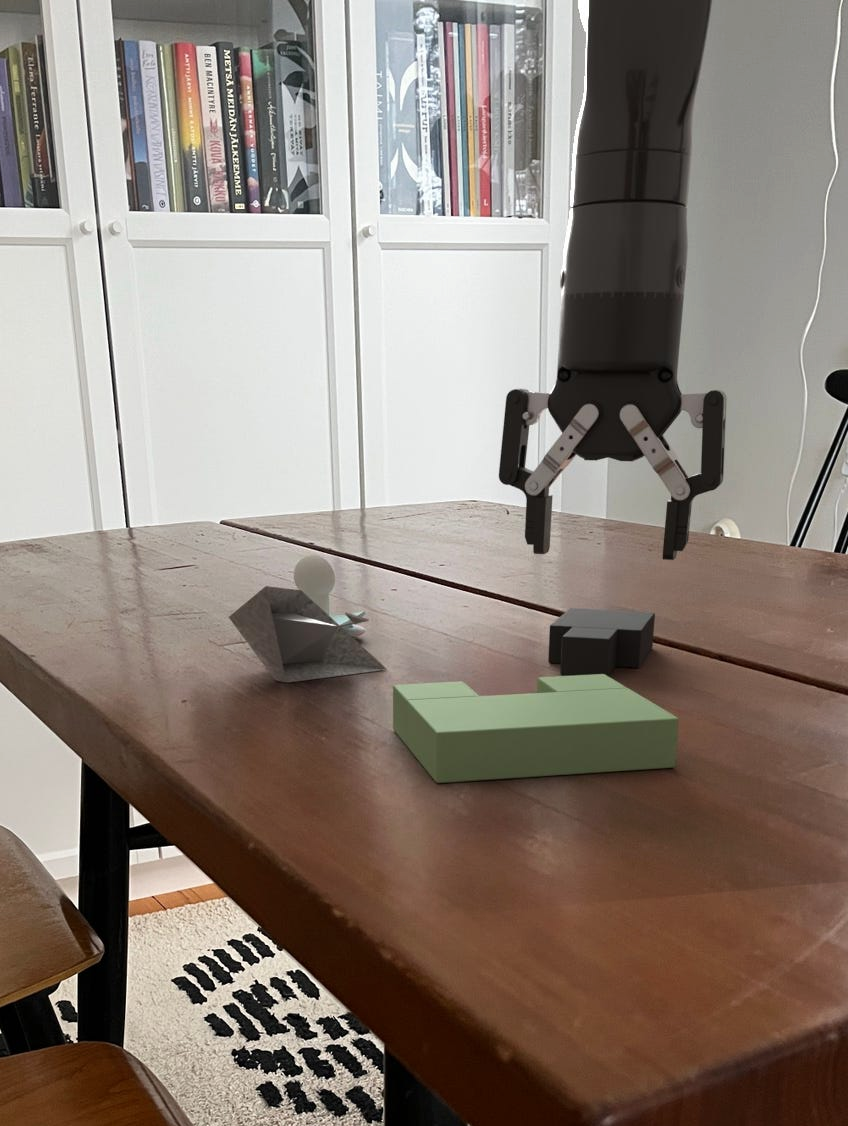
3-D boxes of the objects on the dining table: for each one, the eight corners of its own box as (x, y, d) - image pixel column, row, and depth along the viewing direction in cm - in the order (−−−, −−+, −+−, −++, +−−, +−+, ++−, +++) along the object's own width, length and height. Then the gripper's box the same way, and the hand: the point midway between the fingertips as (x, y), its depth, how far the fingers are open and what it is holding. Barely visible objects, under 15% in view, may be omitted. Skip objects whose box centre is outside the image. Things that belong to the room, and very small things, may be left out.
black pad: (652, 647, 89) (655, 612, 88) (631, 679, 79) (633, 640, 78) (567, 643, 90) (569, 608, 90) (536, 673, 81) (538, 635, 80)
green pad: (602, 717, 71) (604, 673, 70) (675, 768, 61) (679, 718, 61) (392, 729, 69) (392, 684, 68) (436, 783, 59) (436, 732, 59)
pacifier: (285, 631, 96) (259, 644, 91) (283, 547, 94) (256, 555, 89) (378, 635, 94) (357, 648, 89) (378, 549, 92) (356, 557, 87)
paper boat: (322, 636, 87) (430, 612, 82) (309, 722, 86) (419, 704, 80) (199, 558, 78) (311, 525, 73) (183, 653, 77) (296, 627, 71)
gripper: (745, 292, 79) (718, 554, 85) (523, 295, 84) (512, 544, 90) (736, 284, 73) (708, 569, 79) (496, 288, 77) (486, 557, 83)
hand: (603, 555), depth 84 cm, fingers open, 8 cm apart
